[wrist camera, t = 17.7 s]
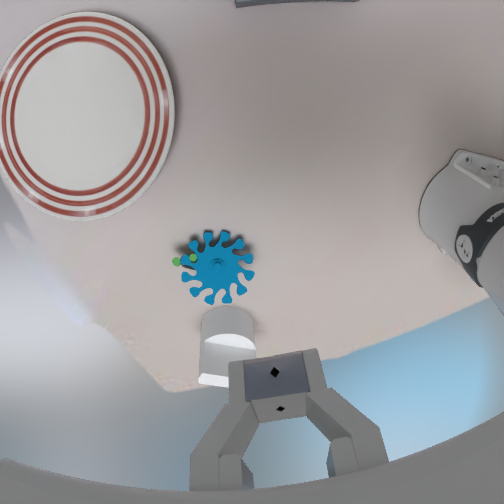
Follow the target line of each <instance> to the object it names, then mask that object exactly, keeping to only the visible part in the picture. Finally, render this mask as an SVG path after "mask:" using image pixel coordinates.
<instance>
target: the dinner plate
mask: <svg viewBox="0 0 504 504" xmlns="http://www.w3.org/2000/svg"><path fill="white" fill-rule="evenodd" d="M174 122H175V103H174V95H173V89H172V84H171V80H170V77H169V74H168V71H167V68H166V66H165V63H164V61H163V59H162V58H161V56H160V54H159V53H158V51H157V50H156V48H155V47H154V45H153V44H152V43H151V42H150V40H149V39H148V38H147V37H146V36H145V35H144V34H143V33H142V32H140V31H139V30H138V29H137V28H135V27H134V26H133V25H131V24H130V23H128V22H126V21H124V20H122V19H120V18H118V17H115V16H112V15H109V14H105V13H99V12H77V13H71V14H66V15H63V16H60V17H57V18H55V19H53V20H50V21H48V22H46V23H45V24H43V25H41V26H40V27H38V28H36V29H35V30H34V31H32V32H31V33H30V34H29V35H28V36H27V37H25V38H24V39H23V40H22V42H21V43H20V44H19V45H18V46H17V47H16V48H15V49H14V51H13V52H12V54H11V55H10V56H9V58H8V59H7V61H6V63H5V65H4V66H3V68H2V70H1V73H0V167H1V169H2V171H3V173H4V175H5V176H6V178H7V180H8V181H9V183H10V184H11V185H12V187H13V188H14V189H15V190H16V191H17V193H18V194H19V195H20V196H21V197H22V198H23V199H25V200H26V201H27V202H28V203H29V204H31V205H32V206H34V207H35V208H37V209H38V210H40V211H42V212H44V213H46V214H48V215H51V216H53V217H56V218H60V219H64V220H69V221H92V220H98V219H102V218H105V217H108V216H111V215H113V214H116V213H118V212H120V211H121V210H123V209H125V208H126V207H128V206H129V205H131V204H132V203H133V202H135V201H136V200H137V199H138V198H139V197H140V196H141V195H142V194H143V193H144V192H145V191H146V190H147V189H148V188H149V187H150V185H151V184H152V183H153V181H154V180H155V178H156V177H157V175H158V173H159V172H160V170H161V168H162V166H163V164H164V162H165V160H166V157H167V155H168V152H169V149H170V145H171V141H172V137H173V131H174Z"/></svg>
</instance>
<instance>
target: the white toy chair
mask: <svg viewBox="0 0 504 504" xmlns="http://www.w3.org/2000/svg"><path fill="white" fill-rule="evenodd" d="M248 359H256V349H255V338H254V327H253V319H252V317H251V316H250V315H249V314H248V313H247V312H246V311H244V310H243V309H241V308H237V307H232V306H222V307H217V308H214V309H212V310H210V311H208V312H207V313H206V314H205V315H204V317H203V319H202V326H201V341H200V359H199V379H198V382H199V383H201V384H207V385H214V386H221V387H229V380H228V365H229V362H232V361H239V360H248Z"/></svg>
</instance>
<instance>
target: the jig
mask: <svg viewBox="0 0 504 504" xmlns="http://www.w3.org/2000/svg"><path fill="white" fill-rule="evenodd" d="M307 1H342V2H356V1H359V0H235V4H236V8H238V7H245V6H253V5H262V4H273V3H286V2H307Z"/></svg>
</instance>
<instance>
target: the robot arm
mask: <svg viewBox="0 0 504 504" xmlns="http://www.w3.org/2000/svg"><path fill="white" fill-rule="evenodd" d="M466 158H467V159H466ZM419 219H420V225H421V228H422V230H423V232H424V234H425V235H426V236H427V237H428V238H429V239H431V240H432V241H434V242H435V243H436V244H437V245H438V247H439V249H440V251H441V252H442V253H444V254H445V255H448V254H449V255H450V256H451V257H452V258H453V259H454V260H455V261H456V262H457V263H458V264H459V265H460V266H461V267H462V268H463V269H465V271H466V272H467V273H468V274H469V276H470V277H471V279H472V280H473V281H474V282H475V283H476V284H477V285H478V286H479V287H482V288H484V289H485V291H486V292H487V293H488V295H489V296H490V297H491V299H492V300H493V301H494V303H495V304H496V306H497V307H498V308H499V310H500V311H501V312H502V314H503V315H504V161H502V160H499V159H496V158H492V157H488V156H485V155H481V154H477V153H473V152H469V151H465V150H458V151H457V152H456V153H455V154H454V156H453V157H452V159H451V161H450V162H449V164H448V165H447V166H446V167H445V168H444V169H443V170H442V171H441V172H440V173H438V174H437V175H436V176H435V178H434V179H433V180H432V181H431V183H430V184H429V186H428V187H427V189H426V191H425V193H424V196H423V198H422V201H421V205H420V212H419ZM228 380H229V404H225V405H224V406H223V408H222V409H221V411H220V412H219V414H218V415H217V417H216V418H215V420H214V421H213V423H212V424H211V426H210V427H209V429H208V430H207V432H206V433H205V435H204V436H203V437H202V439H201V440H200V442H199V443H198V444H197V446H196V447H195V449H194V450H193V452H192V453H191V454H190V486H189V491H174V490H173V491H172V490H157V489H145V488H135V487H126V486H119V485H112V484H105V483H100V482H94V481H89V480H84V479H79V478H74V477H70V476H66V475H61V474H57V473H54V472H50V471H46V470H42V469H39V468H36V467H32V466H29V465H26V464H23V463H20V462H17V461H14V460H11V459H7V458H5V459H2V460H0V504H504V412H502V413H501V414H499V415H497V416H495V417H493V418H491V419H490V420H488V421H486V422H484V423H482V424H480V425H478V426H476V427H474V428H472V429H470V430H468V431H466V432H464V433H462V434H460V435H458V436H455V437H453V438H451V439H449V440H447V441H444V442H442V443H439V444H437V445H435V446H432V447H430V448H427V449H425V450H422V451H419V452H417V453H414V454H411V455H408V456H406V457H403V458H400V459H397V460H394V461H391V462H389V460H388V457H387V453H386V450H385V446H384V442H383V439H382V436H381V432H380V429H379V427H378V426H377V425H375V423H373V422H372V421H371V420H370V419H368V418H367V417H366V416H365V415H363V414H362V413H361V412H360V411H359V410H357V409H356V408H355V407H354V406H353V405H351V404H350V403H349V402H348V401H347V400H346V399H344V398H343V397H342V396H341V395H340V394H338V393H337V392H336V391H335V390H333V388H327V385H326V381H325V377H324V373H323V370H322V365H321V362H320V358H319V354H318V350H317V349H316V348H313V349H309V350H304V351H296V352H291V353H285V354H280V355H274V356H271V357H264V358H256V359H248V360H239V361H232V362H229V365H228ZM303 416H307V418H308V419H309V420H310V421H311V422H312V423H313V424H314V425H315V426H316V427H317V428H318V429H319V430H320V431H321V432H322V433H323V434H324V436H326V438H327V439H328V440H329V441H330V442H331V443H330V447H329V453H328V458H327V463H326V464H327V469H328V475H329V478H326V479H321V480H316V481H310V482H304V483H298V484H291V485H284V486H277V487H268V488H259V489H254V481H253V474H252V472H251V471H250V470H249V468H248V467H247V465H246V464H245V463H244V461H243V460H242V457H243V455H244V453H245V451H246V449H247V447H248V445H249V444H250V442H251V440H252V438H253V436H254V434H255V432H256V430H257V428H258V426H259V423H264V422H271V421H276V420H282V419H290V418H297V417H303Z"/></svg>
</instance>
